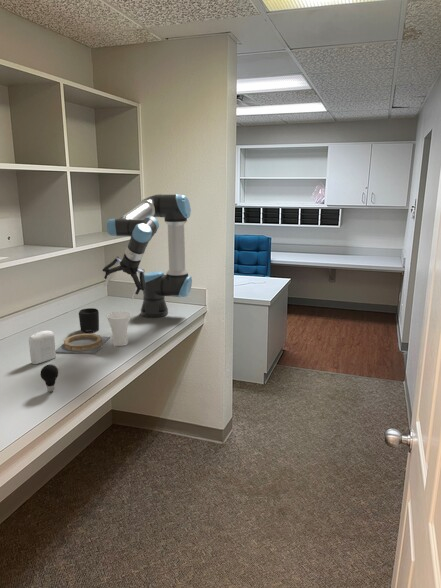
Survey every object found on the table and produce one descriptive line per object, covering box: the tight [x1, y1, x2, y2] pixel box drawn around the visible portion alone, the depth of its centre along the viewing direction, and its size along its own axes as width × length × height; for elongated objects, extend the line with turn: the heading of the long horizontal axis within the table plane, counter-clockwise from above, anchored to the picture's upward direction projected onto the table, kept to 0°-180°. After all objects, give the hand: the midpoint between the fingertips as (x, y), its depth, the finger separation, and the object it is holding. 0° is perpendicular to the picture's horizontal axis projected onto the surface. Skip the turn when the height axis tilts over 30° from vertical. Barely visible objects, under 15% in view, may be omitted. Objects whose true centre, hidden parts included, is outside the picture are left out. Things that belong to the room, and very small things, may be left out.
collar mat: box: [55, 335, 111, 355], centre depth 200 cm, size 20×18×1 cm
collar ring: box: [63, 333, 102, 351], centre depth 200 cm, size 16×16×2 cm
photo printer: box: [28, 330, 57, 365], centre depth 182 cm, size 10×4×12 cm, turn 144°
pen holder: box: [78, 307, 100, 334], centre depth 218 cm, size 9×9×10 cm
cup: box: [106, 311, 132, 347], centre depth 200 cm, size 10×10×14 cm
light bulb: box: [40, 364, 59, 393], centre depth 155 cm, size 6×6×10 cm
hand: (119, 291), depth 204 cm, fingers open, 13 cm apart
